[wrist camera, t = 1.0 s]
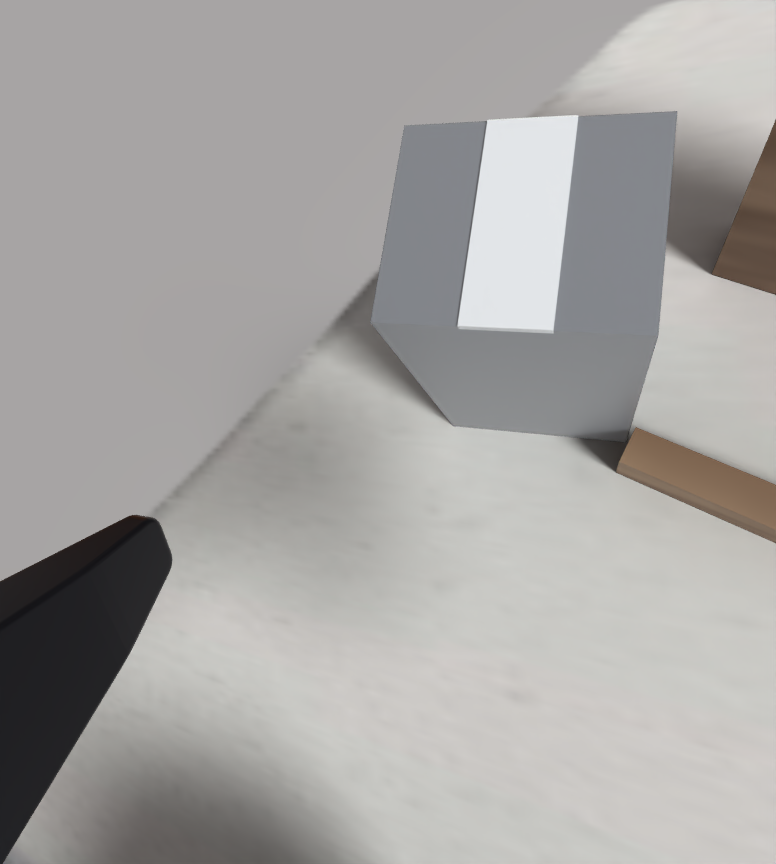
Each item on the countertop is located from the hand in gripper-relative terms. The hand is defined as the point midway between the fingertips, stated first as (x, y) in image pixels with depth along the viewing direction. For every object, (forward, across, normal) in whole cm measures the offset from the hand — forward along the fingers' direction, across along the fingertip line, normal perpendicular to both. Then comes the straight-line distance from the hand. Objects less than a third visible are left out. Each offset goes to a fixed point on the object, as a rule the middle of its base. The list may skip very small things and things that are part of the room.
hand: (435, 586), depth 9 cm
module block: (+15, 0, +5) cm, 16 cm away
